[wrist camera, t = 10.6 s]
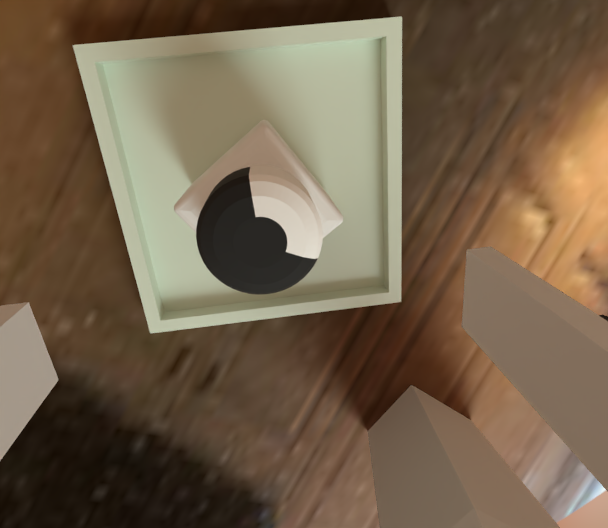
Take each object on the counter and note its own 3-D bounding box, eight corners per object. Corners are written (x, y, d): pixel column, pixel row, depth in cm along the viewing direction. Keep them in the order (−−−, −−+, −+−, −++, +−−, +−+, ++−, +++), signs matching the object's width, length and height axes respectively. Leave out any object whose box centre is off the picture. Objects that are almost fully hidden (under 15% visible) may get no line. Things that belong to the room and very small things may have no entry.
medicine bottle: (257, 254, 32) (255, 337, 21) (190, 184, 29) (146, 236, 18) (328, 194, 31) (366, 249, 20) (265, 116, 28) (267, 128, 17)
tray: (156, 320, 34) (150, 333, 32) (85, 48, 26) (72, 45, 24) (393, 291, 35) (401, 301, 33) (392, 22, 27) (401, 16, 25)
